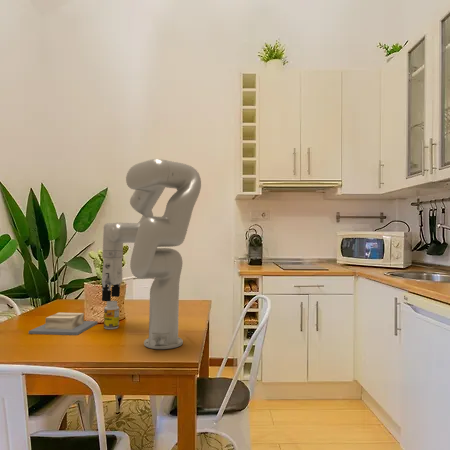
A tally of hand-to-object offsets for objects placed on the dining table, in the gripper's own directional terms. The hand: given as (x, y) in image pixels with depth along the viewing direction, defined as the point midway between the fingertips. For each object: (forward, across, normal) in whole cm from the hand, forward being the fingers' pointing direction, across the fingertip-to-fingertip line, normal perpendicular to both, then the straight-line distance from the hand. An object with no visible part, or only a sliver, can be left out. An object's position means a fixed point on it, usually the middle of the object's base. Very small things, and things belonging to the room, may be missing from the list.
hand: (111, 298), depth 148 cm
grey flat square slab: (+11, -4, +16) cm, 20 cm away
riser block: (+11, -4, +16) cm, 20 cm away
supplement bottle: (+11, -1, -1) cm, 11 cm away
